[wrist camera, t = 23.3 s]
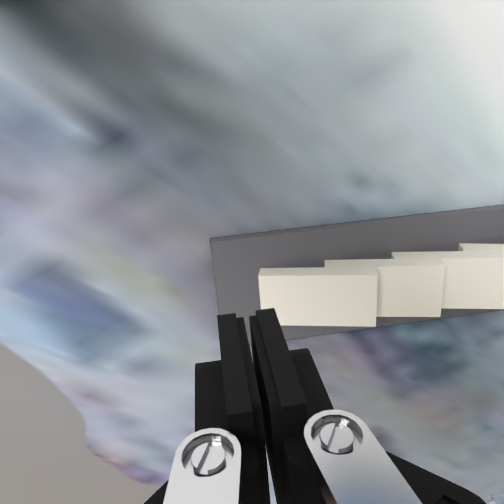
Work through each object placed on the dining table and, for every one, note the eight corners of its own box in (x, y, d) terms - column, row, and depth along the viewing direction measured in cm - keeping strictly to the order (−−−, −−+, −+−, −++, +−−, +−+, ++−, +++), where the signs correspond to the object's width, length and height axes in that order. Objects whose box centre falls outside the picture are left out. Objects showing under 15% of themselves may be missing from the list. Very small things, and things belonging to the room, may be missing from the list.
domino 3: (391, 307, 40) (507, 309, 38) (394, 258, 38) (517, 258, 36) (388, 299, 41) (501, 300, 39) (391, 251, 39) (509, 250, 37)
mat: (222, 342, 42) (223, 348, 41) (209, 238, 37) (210, 242, 37) (508, 303, 44) (514, 308, 43) (526, 201, 40) (534, 204, 39)
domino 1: (262, 325, 39) (375, 326, 37) (258, 275, 37) (377, 275, 35) (264, 315, 40) (373, 316, 38) (260, 268, 38) (375, 267, 36)
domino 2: (325, 316, 39) (440, 317, 37) (324, 267, 37) (445, 265, 35) (325, 307, 40) (435, 307, 39) (324, 260, 39) (440, 258, 37)
